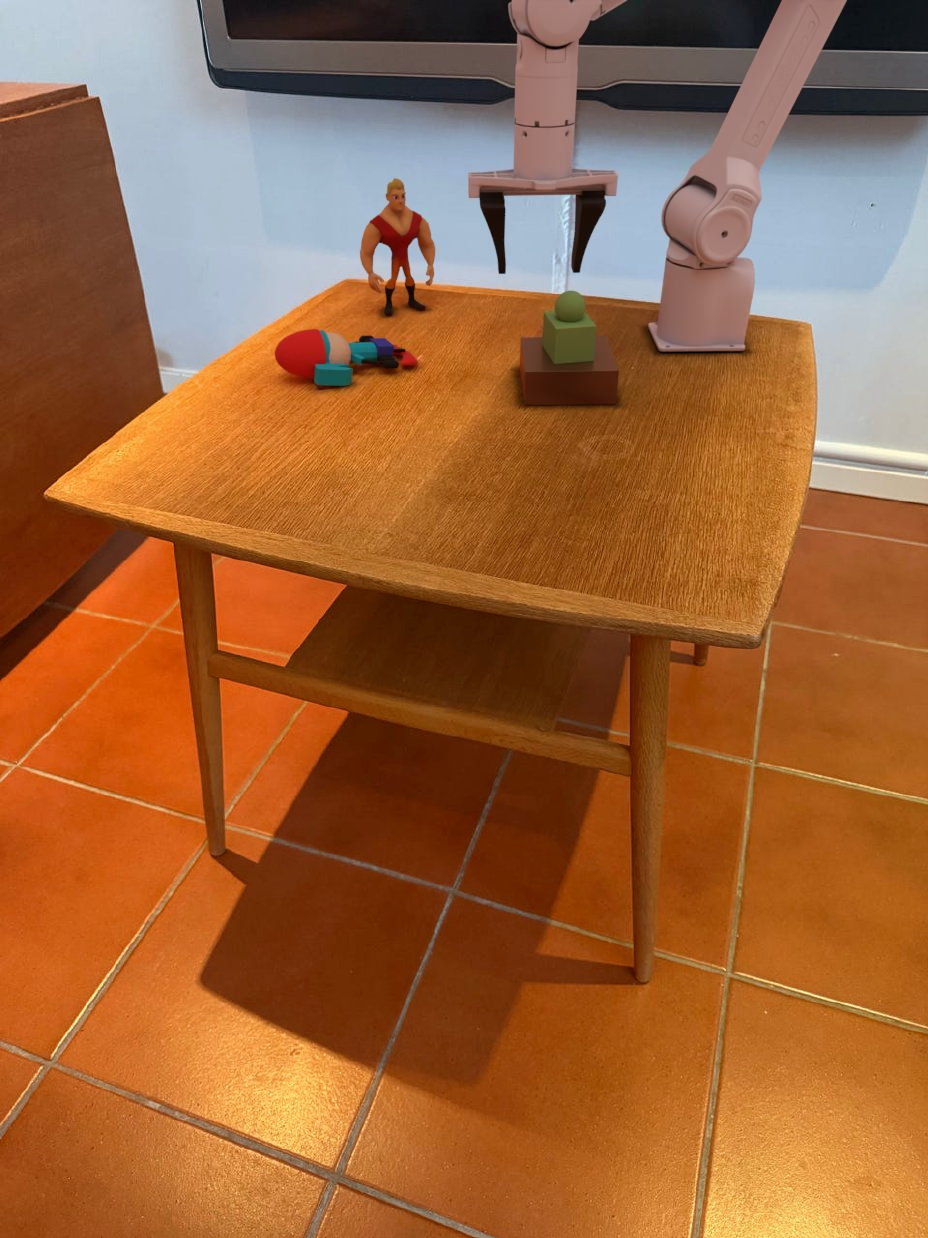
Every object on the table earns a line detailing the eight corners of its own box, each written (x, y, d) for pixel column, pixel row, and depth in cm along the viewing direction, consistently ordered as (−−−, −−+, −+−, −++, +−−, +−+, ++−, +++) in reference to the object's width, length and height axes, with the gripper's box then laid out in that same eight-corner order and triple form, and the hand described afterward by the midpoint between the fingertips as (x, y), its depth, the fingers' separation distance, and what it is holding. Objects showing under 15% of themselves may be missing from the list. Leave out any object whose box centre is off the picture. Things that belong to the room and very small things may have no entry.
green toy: (580, 342, 90) (584, 281, 86) (593, 361, 86) (599, 298, 83) (541, 345, 90) (544, 284, 86) (554, 364, 86) (557, 301, 82)
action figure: (371, 320, 106) (361, 184, 97) (362, 311, 109) (350, 178, 99) (443, 308, 109) (440, 175, 100) (432, 300, 112) (428, 169, 102)
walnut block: (604, 368, 94) (607, 336, 91) (615, 404, 87) (619, 370, 84) (519, 369, 94) (520, 337, 92) (524, 405, 87) (525, 371, 84)
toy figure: (391, 359, 100) (263, 363, 93) (396, 316, 97) (265, 317, 90) (420, 388, 95) (287, 394, 88) (427, 344, 92) (290, 347, 85)
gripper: (468, 131, 80) (469, 283, 88) (627, 128, 80) (613, 281, 89) (467, 117, 86) (468, 262, 94) (616, 115, 86) (604, 260, 94)
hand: (538, 270), depth 92 cm, fingers open, 7 cm apart
